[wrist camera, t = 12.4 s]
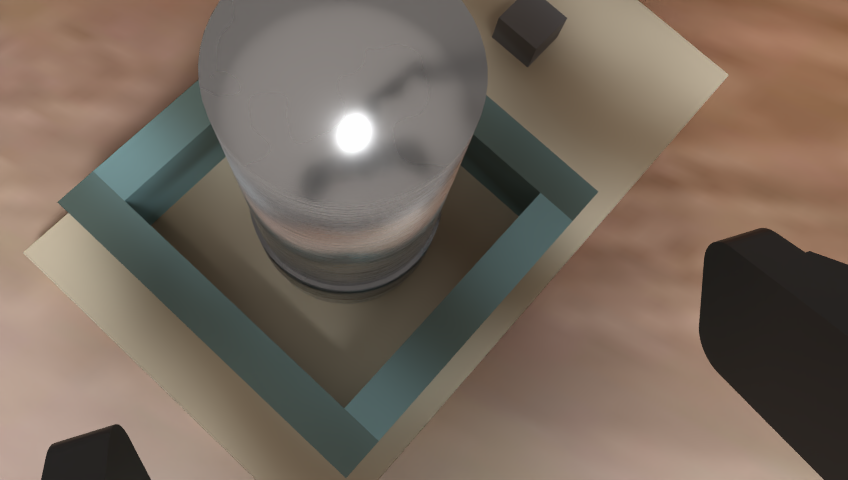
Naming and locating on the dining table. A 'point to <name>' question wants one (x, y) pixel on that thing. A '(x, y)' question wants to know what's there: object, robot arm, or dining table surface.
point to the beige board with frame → (424, 289)
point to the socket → (344, 129)
